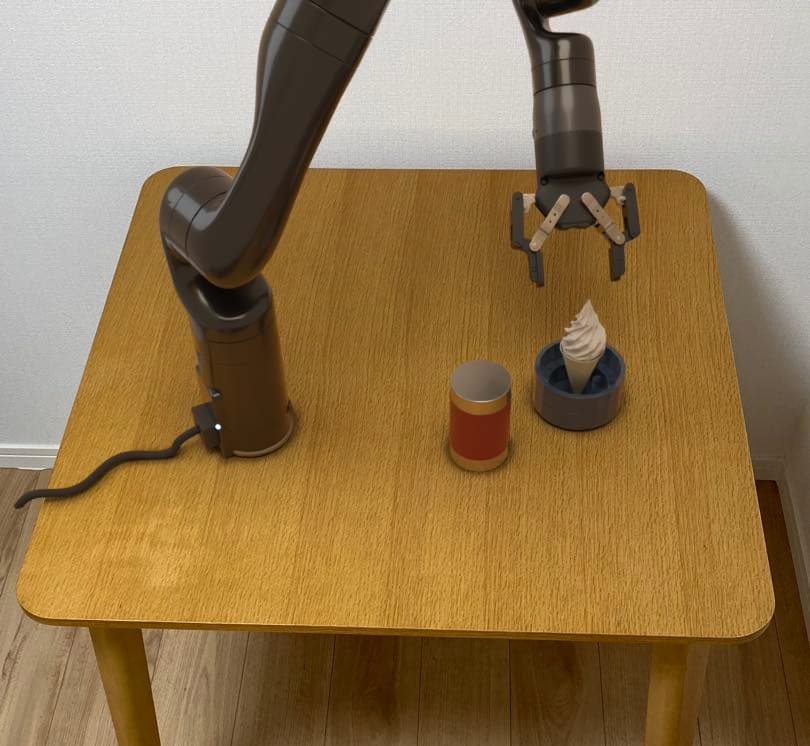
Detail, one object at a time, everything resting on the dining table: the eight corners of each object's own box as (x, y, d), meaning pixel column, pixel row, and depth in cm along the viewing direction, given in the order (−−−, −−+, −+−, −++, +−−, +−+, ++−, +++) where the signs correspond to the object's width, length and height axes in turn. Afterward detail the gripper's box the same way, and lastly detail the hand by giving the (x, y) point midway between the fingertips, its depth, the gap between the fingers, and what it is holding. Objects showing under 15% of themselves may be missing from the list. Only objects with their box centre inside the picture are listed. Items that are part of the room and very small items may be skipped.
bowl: (559, 443, 136) (563, 409, 132) (516, 387, 142) (518, 352, 138) (637, 414, 139) (643, 380, 134) (591, 360, 145) (595, 325, 140)
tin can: (466, 480, 133) (467, 410, 124) (439, 441, 137) (438, 370, 128) (518, 460, 135) (523, 389, 126) (491, 422, 139) (493, 351, 130)
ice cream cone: (596, 415, 138) (609, 316, 126) (552, 410, 139) (562, 311, 127) (599, 386, 141) (613, 286, 130) (557, 381, 142) (567, 281, 130)
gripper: (508, 132, 127) (519, 285, 129) (639, 122, 128) (649, 274, 129) (499, 148, 135) (510, 292, 136) (623, 138, 135) (633, 282, 137)
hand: (578, 283), depth 133 cm, fingers open, 8 cm apart
